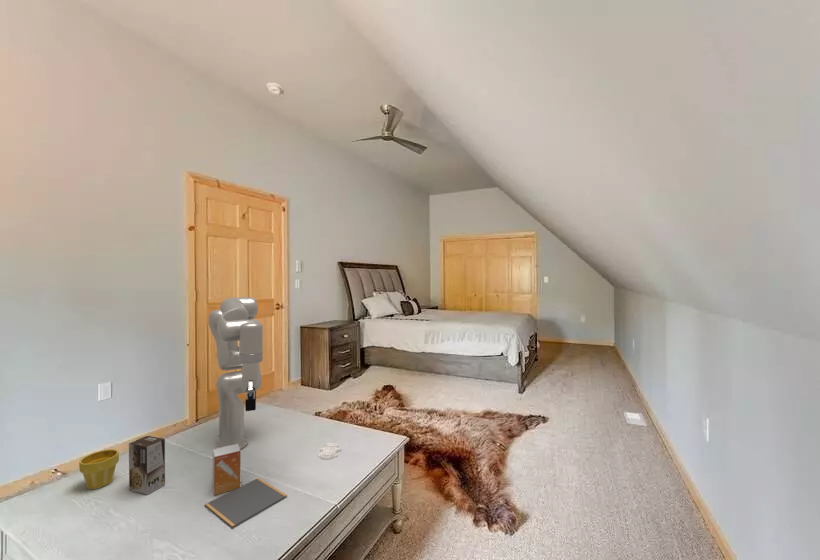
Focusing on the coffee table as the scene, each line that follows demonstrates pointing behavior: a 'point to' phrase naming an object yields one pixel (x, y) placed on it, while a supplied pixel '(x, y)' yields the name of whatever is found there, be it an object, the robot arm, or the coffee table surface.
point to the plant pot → (99, 468)
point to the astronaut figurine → (329, 451)
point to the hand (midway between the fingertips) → (250, 405)
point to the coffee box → (146, 464)
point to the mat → (245, 502)
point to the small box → (226, 468)
